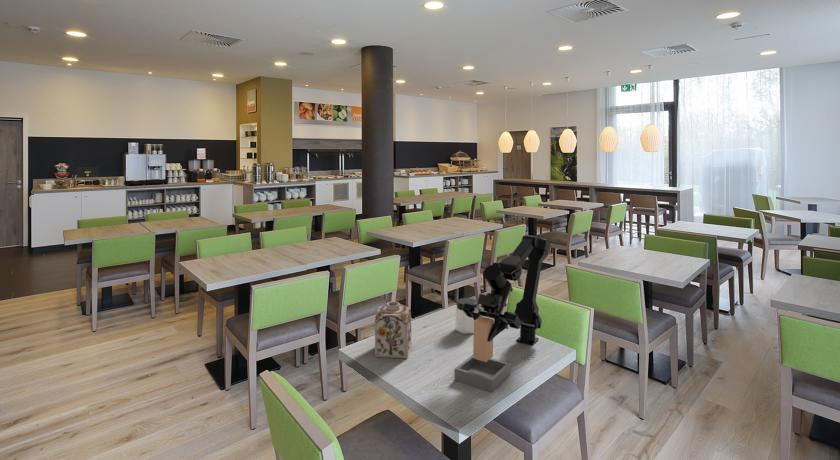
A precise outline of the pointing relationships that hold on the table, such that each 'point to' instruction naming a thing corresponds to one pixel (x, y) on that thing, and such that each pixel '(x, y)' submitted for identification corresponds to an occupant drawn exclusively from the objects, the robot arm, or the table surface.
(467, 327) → the jar
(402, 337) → the decorative jar
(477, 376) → the box
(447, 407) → the table surface
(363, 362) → the table surface
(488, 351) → the terracotta block
